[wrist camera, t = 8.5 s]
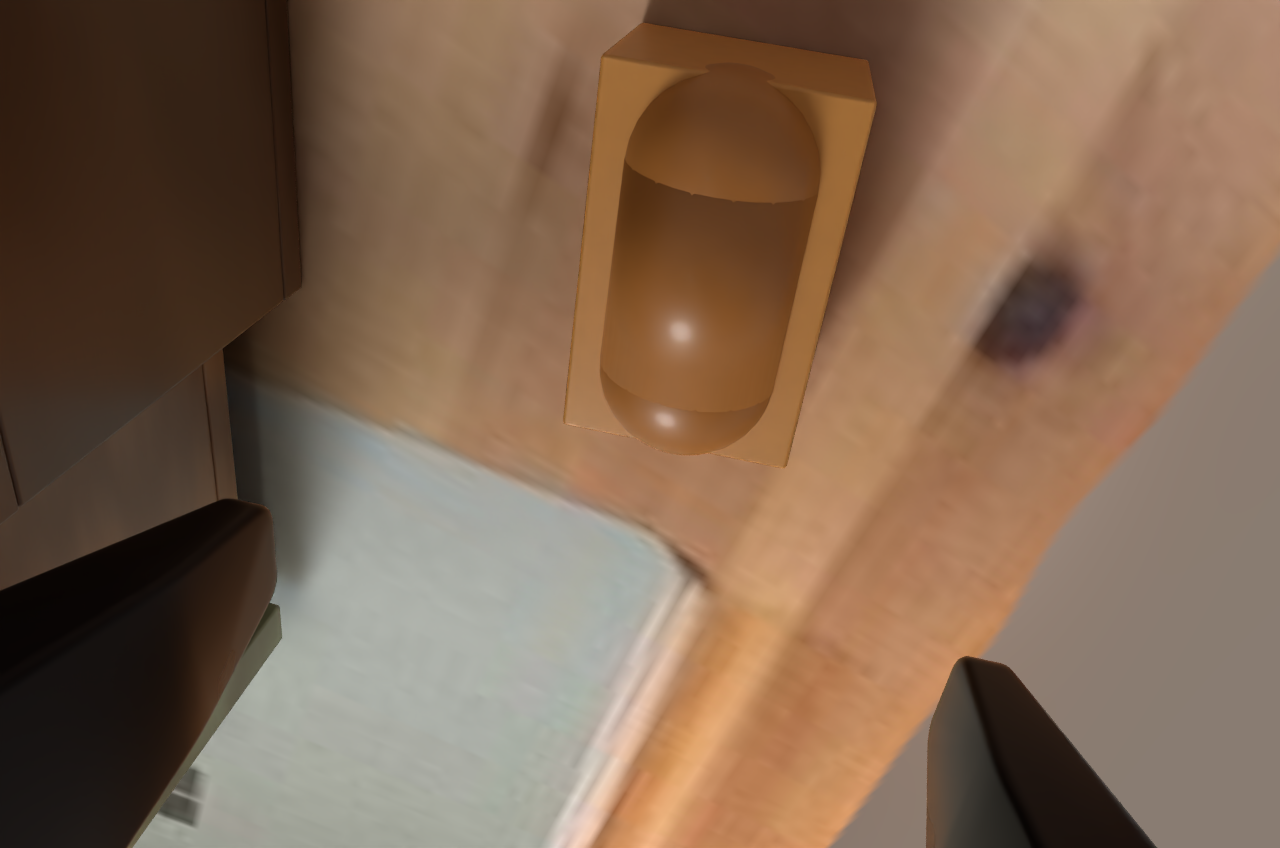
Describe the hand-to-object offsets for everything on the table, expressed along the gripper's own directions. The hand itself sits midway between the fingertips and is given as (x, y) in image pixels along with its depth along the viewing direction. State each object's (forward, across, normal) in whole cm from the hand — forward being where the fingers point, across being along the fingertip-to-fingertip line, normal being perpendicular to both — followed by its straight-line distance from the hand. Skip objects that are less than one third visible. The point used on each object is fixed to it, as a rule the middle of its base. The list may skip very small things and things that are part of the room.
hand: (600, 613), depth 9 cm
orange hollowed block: (+12, 0, 0) cm, 12 cm away
